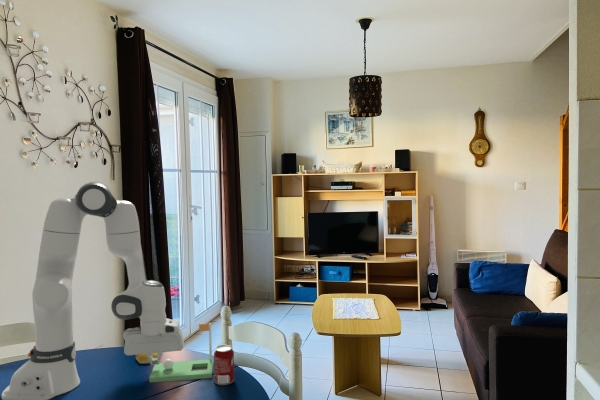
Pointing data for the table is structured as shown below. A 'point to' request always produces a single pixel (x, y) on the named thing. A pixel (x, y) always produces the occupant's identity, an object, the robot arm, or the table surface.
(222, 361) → the soda can
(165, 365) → the ball
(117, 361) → the table surface
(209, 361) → the green
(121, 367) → the table surface
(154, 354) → the bread roll
